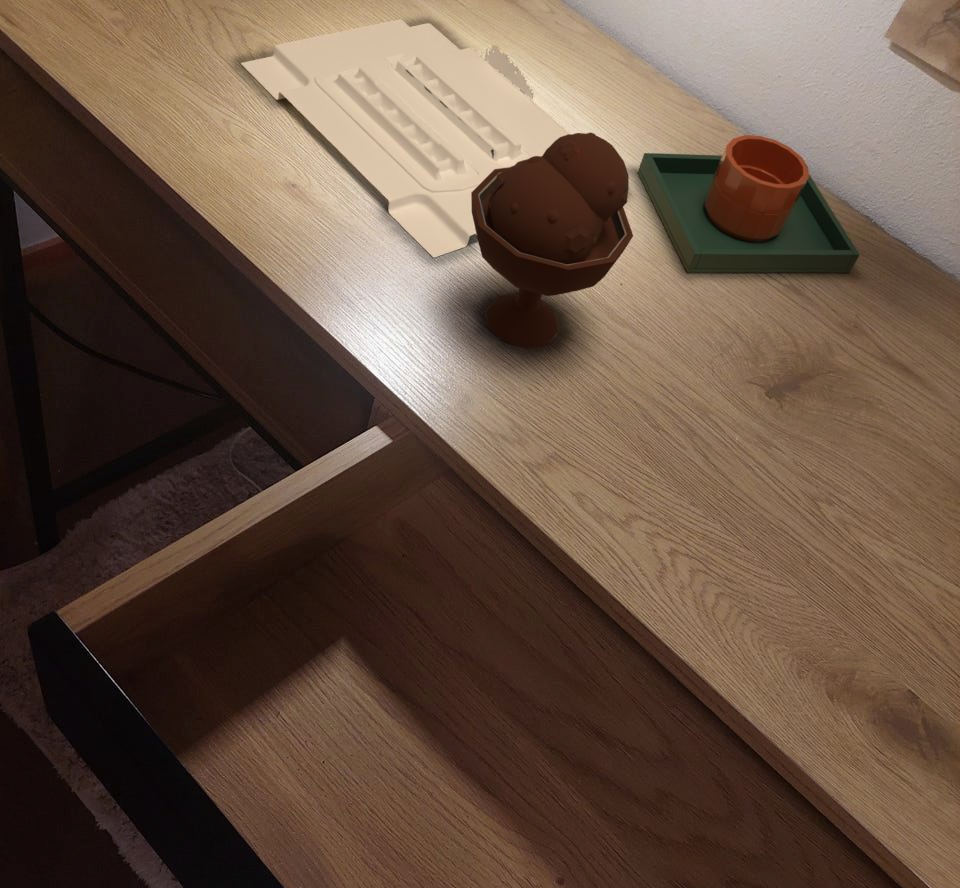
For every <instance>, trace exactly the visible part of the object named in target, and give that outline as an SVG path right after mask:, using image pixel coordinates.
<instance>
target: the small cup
mask: <svg viewBox="0 0 960 888" xmlns="http://www.w3.org/2000/svg"><path fill="white" fill-rule="evenodd" d="M721 156H722V158H721V160H720V163H719V165H718V167H717V170H716V172H715V175H714V177H713V180H712V182H711V184H710V187H709V189H708V192H707V194H706V196H705V208H706V211H707V214H708V216H709V218H710V220H711V221H712V222H713V223H714V224H715V225H716V226H717V227H718V228H719V229H720V230H722V231H723V232H725V233H727V234H729V235H731V236H733V237H736V238H738V239H742V240H746V241H765V240H768V239H770V238H772V237H773V236H776V235H778V234H779V233H780V232H781V230H782V229H783V228H784V226H785V224H786V222H787V220H788V218H789V216H790V214H791V212H792V210H793V208H794V206H795V204H796V202H797V200H798V198H799V196H800V194H801V192H802V190H803V188H804V186H805V184H806V182H807V180H808V177H809V175H810V172H809V166H808V164H807V163H806V161H805V160H804V158H803V157H802V156H801V155H800V154H799V153H797V152H796V151H795V150H794V149H792V148H791V147H790V146H788V145H786V144H784V143H782V142H781V141H778V140H776V139H773V138H769V137H766V136H762V135H753V134H752V135H751V134H744V135H740V136H736V137H734V138H732V139H731V140H730V141H729V142H728V143H727V144H726V146H725V148H724V151H723V153H722V155H721Z"/></svg>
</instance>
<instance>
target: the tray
mask: <svg viewBox="0 0 960 888" xmlns="http://www.w3.org/2000/svg"><path fill="white" fill-rule="evenodd" d="M500 49H501V48H500V47H499V46H498V45H497V44H495V45H494V44H493V45H491V47H490V48H486V49H485V55H484V57H483V53H481V55H480V54H479V53H478V52H477V51H476V50H475V49H473V47H466V48H462V49H460V48H459V47H458V46H456V45H455V43H453V42H452V41H450V40H449V38H447V37H446V36H445V35H444V34H443V33H442V32H441V31H439V30H438V29H437V28H436V27H435V26H433V25H432V23H430V22H426V23H422V24H418V25H413V26H409V24H407V23H406V22H405V21H404V20H403V19H401V18H399V19H394V20H390V21H384V22H380V23H375V24H371V25H366V26H365V25H364V26H361V27H360V26H359V27H356V28H351V29H346V30H342V31H337V32H331V33H327V34H321V35H317V36H313V37H306V38H303V39H298V40H293V41H287V42H283V43H279V44H275V46H274V48H273V53H272V55H271V56H268V57H262V58H257V59H253V60H248V61H244V62H240V64H241V66H243V68H244V69H246V71H247V72H249V74H250V75H251V76H253V77H254V79H255V80H256V81H257V82H258V84H260V85H261V86H262V87H263V88H264V89H265V90H266V91H267V92H268V93H269V94H270V95H271V96H272V97H273V98H274V99H275V100H276V101H278V100H283V99H287V101H288V102H289V103H290V104H291V105H292V106H293V107H294V108H295V109H296V110H297V111H298V112H299V113H300V114H302V116H303V117H304V118H305V119H306V120H307V121H308V122H309V123H310V125H313V126H314V128H315V129H316V130H317V131H318V132H320V134H321V135H322V136H323V137H324V138H325V139H326V140H327V141H328V142H330V144H331V145H332V146H334V148H335V149H336V150H337V151H338V152H339V153H340V154H342V156H343V157H344V158H345V159H346V160H347V161H348V162H349V163H350V164H351V165H352V166H353V167H355V169H356V170H357V171H358V172H359V173H360V174H361V175H362V176H363V177H364V178H365V179H366V180H367V181H368V182H369V183H370V184H371V185H372V186H373V187H374V188H375V189H376V190H377V191H378V192H380V194H381V195H382V196H384V197H385V199H386V200H388V207H387V208H388V209H387V210H388V213H389V215H390V216H391V217H392V218H393V219H394V220H395V221H396V222H397V223H398V224H399V226H401V228H403V229H404V230H405V231H406V232H407V233H408V234H409V235H410V236H411V237H412V238H413V239H414V240H415V241H416V242H417V243H418V244H419V245H420V246H421V247H422V248H423V249H424V250H425V251H426V252H427V253H428V254H429V255H430V256H431V257H432V258H437V257H440V256H443V255H446V254H448V253H452V252H455V251H458V250H460V249H464V248H466V247H467V246H468V244H469V240H470V238H471V236H473V235H477V234H476V230H475V225H474V221H473V216H472V204H471V192H472V191H473V190H474V189H475V188H476V187H477V186H478V185H479V184H480V183H481V182H482V181H483V180H484V179H485V178H486V177H487V176H488V175H489V174H490V173H491V172H492V171H493V170H494V169H500V168H507V167H511V166H514V165H515V164H516V163H517V162H520V161H523V160H526V159H530V158H531V157H534V156H543V154H544V153H545V151H546V150H547V148H549V147H550V146H551V145H552V144H553V143H554V141H556V140H557V139H558V138H560V137H562V136H565V135H568V134H571V133H570V132H569V131H568V130H567V129H565V127H563V126H562V125H561V124H560V122H559V123H558V122H557V120H555V119H554V118H553V117H552V116H551V115H550V114H548V113H547V112H546V111H545V110H544V109H543V108H541V106H539V105H538V104H537V103H535V102H534V100H533V98H534V92H532V91H533V89H532V88H533V87H532V86H531V85H529V84H528V83H527V79H526V77H525V76H524V73H522V71H521V70H520V68H519V67H518V65H515V63H514V61H512V62H511V60H510V58H509V57H508V56H509V54H506V53H505V52H501V51H500Z"/></svg>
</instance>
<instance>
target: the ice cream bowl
mask: <svg viewBox="0 0 960 888" xmlns="http://www.w3.org/2000/svg"><path fill="white" fill-rule="evenodd" d="M629 177H630V176H629V173H628V169H627V166H626V163H625V161H624V159H623V158H622V156H621V155H620V154H619V152H618V151H617V149H616V148H615V147H614V145H613V144H612V143H610V142H608V141H607V140H606V139H604V138H603V137H601V136H599V135H596V134H595V133H594V132H587V133H585V132H584V133H583V132H575V133H570V134H568V135H565V136H562V137H560V138H558V139H557V140H556V141H554V143H553V144H552V145H551V146H550V147H549V148H547V150H546V151H545V153H544V154H543V156H534V157H531V158H530V159H526V160H523V161H520V162H517V163H516V164H515V165H514V166H511V167H507V168H500V169H494V170H493V171H492V172H491V173H490V174H489V175H488V176H487V177H486V178H485V179H484V180H483V181H482V182H481V183H480V184H479V185H478V186H477V187H476V188H475V189H474V190H473V191H472V192H471V204H472V216H473V221H474V225H475V230H476V234H475V235H476V239H477V242H478V246H479V251H480V253H481V257H482V258H483V259H484V261H485V262H486V263H487V264H488V265H489V266H490V267H491V268H492V269H493V270H494V271H495V272H496V273H498V274H499V275H500V276H502V277H503V278H504V279H505V280H506V281H508V282H509V283H510V284H511V285H512V286H513V287H514V288H517V289H518V290H517V291H513V292H509V293H504V294H498V295H497V297H496V298H494V300H493V301H492V302H491V304H490V305H489V306H488V308H487V309H486V310H485V311H484V312H485V317H486V321H487V327H488V329H489V330H490V331H491V332H492V333H494V335H496V336H497V337H498V338H500V339H501V340H502V341H504V343H506V344H509V345H515V346H518V347H522V348H525V349H532V348H535V347H541V346H546V345H549V344H550V343H551V342H552V340H554V338H555V337H556V335H557V334H558V333H559V323H558V319H557V316H556V312H555V309H553V307H551V306H550V305H549V304H548V303H546V302H545V301H544V300H543V299H542V297H543V296H547V297H553V296H558V295H562V294H568V293H573V292H579V291H582V290H585V289H589V288H593V287H595V286H596V285H597V284H598V283H599V282H601V280H603V279H604V278H605V277H606V276H607V274H608V273H609V272H610V270H611V269H612V268H613V266H614V265H615V263H616V262H617V261H618V260H619V258H620V257H621V255H622V254H623V253H624V252H625V250H626V249H627V246H628V245H629V243H630V242H631V240H632V239H633V237H634V234H633V231H632V229H631V225H630V223H629V222H630V221H629V219H628V217H627V214H626V211H625V208H624V206H625V205H626V204H627V203H628V197H629V196H628V195H629V190H630V189H629V186H630V185H629V179H630V178H629Z"/></svg>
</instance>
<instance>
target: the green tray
mask: <svg viewBox="0 0 960 888" xmlns="http://www.w3.org/2000/svg"><path fill="white" fill-rule="evenodd" d="M721 158H722V155H717V154H716V155H715V154H714V155H713V154H693V153H692V154H689V153H687V154H686V153H663V152H661V153H659V152H658V153H657V152H656V153H655V152H644V153H643V155H642V158H641V161H640V165H639V168H638V169H637V173H638V176H639V178H640V180H641V182H642V184H643V186H644V188H645V190H646V192H647V194H648V196H649V199H650V200H651V203H652V204H653V206H654V208H655V210H656V213H657V214H658V216H659V218H660V221H661V222H662V225H663V226H664V229H665V230H666V233H667V235H668V237H669V239H670V241H671V243H672V245H673V247H674V248H675V251H676V254H677V255H678V257H679V259H680V261H681V263H682V265H683V267H684V270H685V271H686V273H687V274H689V273H692V274H693V273H695V274H696V273H697V274H698V273H699V274H700V273H703V274H704V273H705V274H707V273H709V274H711V273H713V274H714V273H715V274H717V273H718V274H719V273H720V274H721V273H726V274H728V273H729V274H730V273H732V274H736V273H737V274H739V273H740V274H741V273H745V274H746V273H747V274H748V273H749V274H750V273H755V274H757V273H758V274H759V273H764V274H765V273H766V274H768V273H769V274H770V273H772V274H775V273H793V274H795V273H798V274H799V273H801V274H802V273H807V274H809V273H813V274H815V273H816V274H817V273H819V274H820V273H829V274H830V273H835V274H837V273H838V274H839V273H843V274H844V273H847V274H849V273H851V271H852V269H853V268H854V266H855V264H856V263H857V261H858V259H859V257H860V255H861V254H860V252H859V251H858V249H857V248H856V246H855V245H854V243H853V241H852V240H851V238H850V236H849V235H848V233H847V231H846V230H845V228H844V226H842V224H841V222H840V221H839V219H838V218H837V216H836V214H835V213H834V211H833V210H832V207H831V206H830V205H829V203H828V201H827V200H826V199H825V197H824V195H823V194H822V191H820V189H819V188H818V186H817V184H816V183H815V181H814V180H813V178H812V176H811V175H810V174H809V177H808V180H807V182H806V184H805V186H804V188H803V190H802V192H801V194H800V196H799V198H798V200H797V202H796V204H795V206H794V208H793V210H792V212H791V214H790V216H789V218H788V220H787V222H786V224H785V226H784V228H783V229H782V230H781V232H780V233H779V234H778V235H776V236H773V237H772V238H770V239H768V240H765V241H746V240H742V239H738V238H736V237H733V236H731V235H729V234H727V233H725V232H723V231H722V230H720V229H719V228H718V227H717V226H716V225H715V224H714V223H713V222H712V221H711V220H710V218H709V216H708V214H707V211H706V208H705V196H706V194H707V192H708V189H709V187H710V184H711V182H712V180H713V177H714V175H715V172H716V170H717V167H718V165H719V163H720V160H721Z"/></svg>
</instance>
